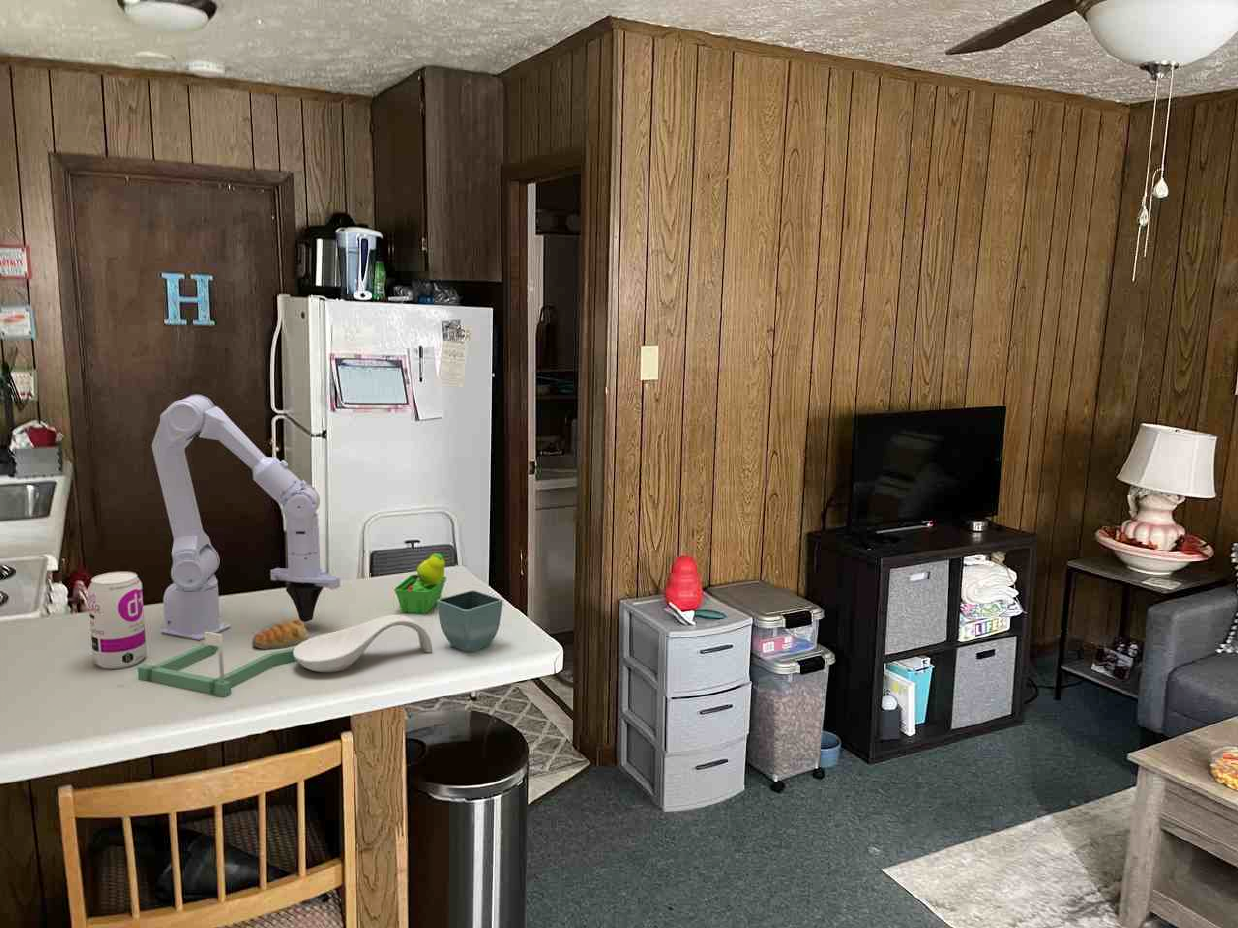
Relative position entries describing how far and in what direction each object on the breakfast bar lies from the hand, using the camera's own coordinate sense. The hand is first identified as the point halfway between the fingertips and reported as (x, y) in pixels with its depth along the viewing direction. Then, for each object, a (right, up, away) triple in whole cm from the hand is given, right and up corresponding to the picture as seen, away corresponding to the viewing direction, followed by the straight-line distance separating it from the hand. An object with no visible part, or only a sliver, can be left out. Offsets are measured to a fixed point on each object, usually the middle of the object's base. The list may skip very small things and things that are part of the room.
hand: (306, 620), depth 187 cm
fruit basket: (+20, 0, +14) cm, 24 cm away
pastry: (-2, -3, -7) cm, 8 cm away
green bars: (-8, -5, -20) cm, 23 cm away
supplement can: (-26, -5, -18) cm, 32 cm away
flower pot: (+32, -4, -7) cm, 33 cm away
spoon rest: (+15, -5, -15) cm, 21 cm away
